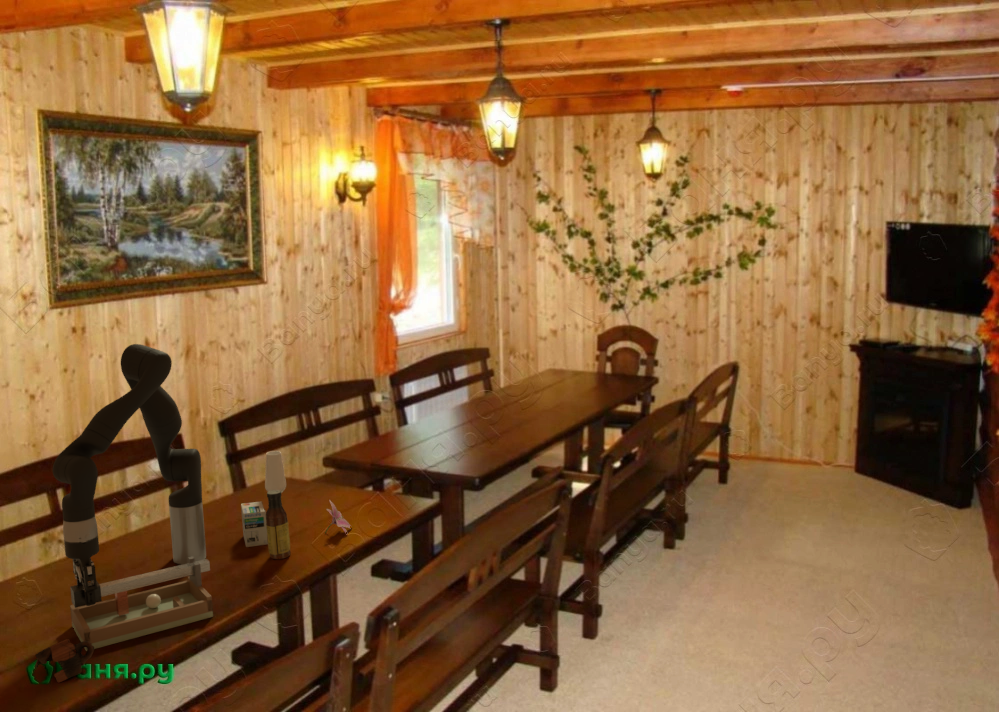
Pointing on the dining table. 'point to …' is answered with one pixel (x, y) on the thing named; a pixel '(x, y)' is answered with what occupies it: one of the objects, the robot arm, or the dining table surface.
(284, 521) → the sauce bottle
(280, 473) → the champagne flute
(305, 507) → the dining table surface
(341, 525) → the lily
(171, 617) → the wooden tray
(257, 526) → the light bulb box
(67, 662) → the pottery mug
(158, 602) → the ball
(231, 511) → the dining table surface
